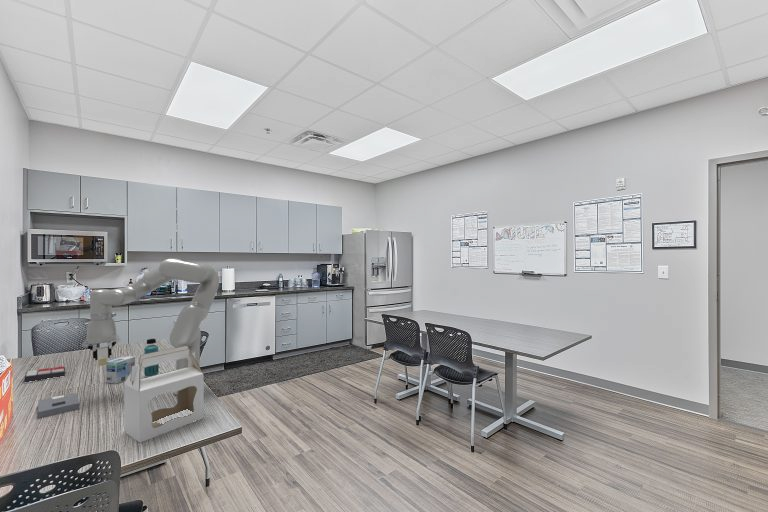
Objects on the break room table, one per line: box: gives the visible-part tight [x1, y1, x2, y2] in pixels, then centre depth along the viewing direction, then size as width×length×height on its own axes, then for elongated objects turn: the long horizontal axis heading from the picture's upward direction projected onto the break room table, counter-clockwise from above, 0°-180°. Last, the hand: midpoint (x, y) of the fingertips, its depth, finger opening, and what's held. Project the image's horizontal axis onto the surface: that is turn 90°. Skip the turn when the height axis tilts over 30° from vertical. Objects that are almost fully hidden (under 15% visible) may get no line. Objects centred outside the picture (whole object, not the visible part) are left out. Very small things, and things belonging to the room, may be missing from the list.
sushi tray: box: [23, 366, 66, 383], centre depth 184 cm, size 11×4×15 cm
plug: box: [96, 345, 109, 367], centre depth 155 cm, size 5×4×7 cm
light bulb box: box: [105, 355, 136, 385], centre depth 179 cm, size 11×7×11 cm, turn 168°
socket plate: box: [37, 392, 80, 419], centre depth 146 cm, size 16×12×3 cm
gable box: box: [123, 346, 205, 443], centre depth 130 cm, size 22×13×28 cm, turn 145°
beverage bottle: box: [143, 338, 160, 377], centre depth 182 cm, size 6×7×20 cm
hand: (102, 358), depth 155 cm, fingers closed on plug, 3 cm apart
